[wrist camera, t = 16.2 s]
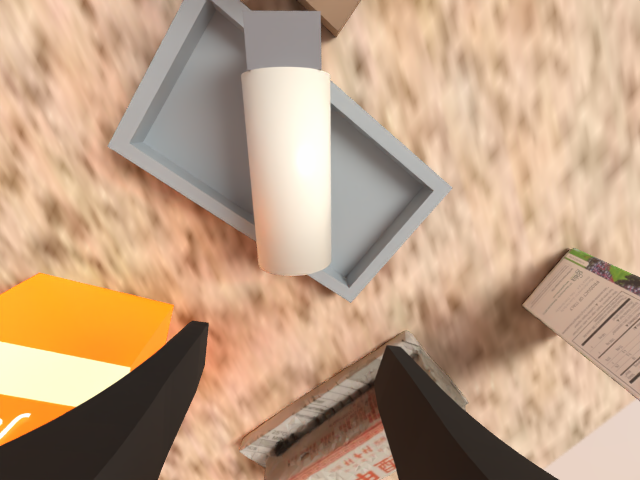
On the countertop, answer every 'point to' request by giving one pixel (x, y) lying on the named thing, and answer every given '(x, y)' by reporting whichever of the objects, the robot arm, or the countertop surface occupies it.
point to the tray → (232, 151)
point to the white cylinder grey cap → (288, 140)
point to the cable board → (332, 12)
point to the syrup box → (594, 314)
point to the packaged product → (337, 425)
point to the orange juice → (68, 346)
